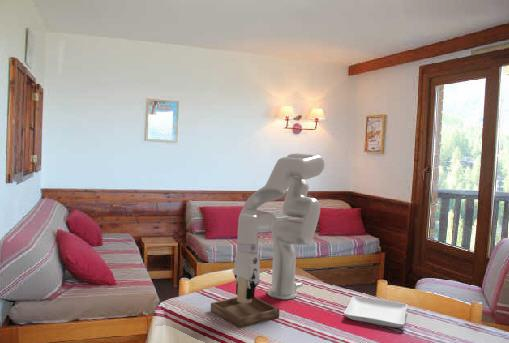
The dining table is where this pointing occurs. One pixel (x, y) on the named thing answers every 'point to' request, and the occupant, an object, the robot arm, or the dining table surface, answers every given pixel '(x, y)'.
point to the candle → (242, 291)
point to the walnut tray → (244, 311)
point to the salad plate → (376, 311)
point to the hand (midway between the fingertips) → (245, 295)
